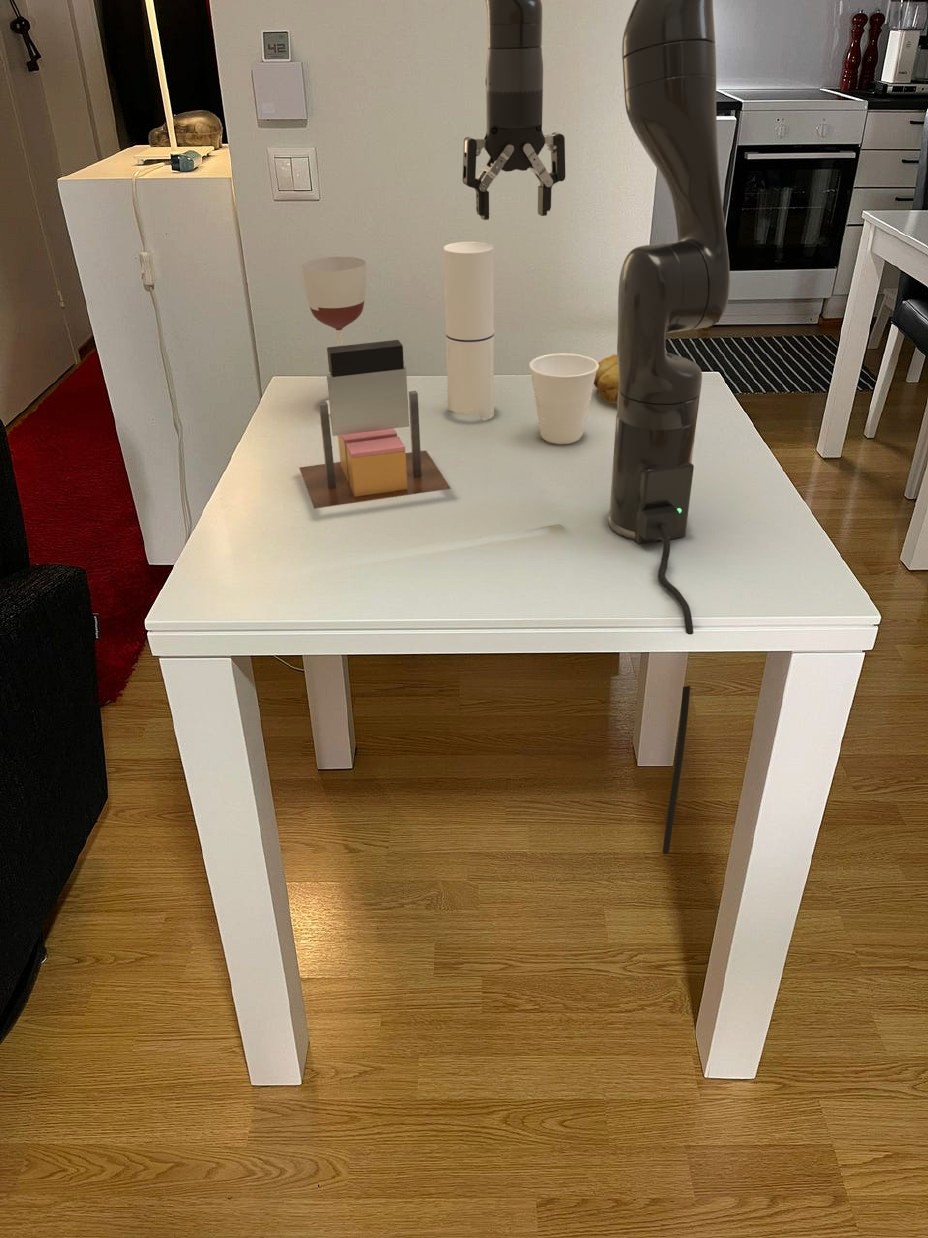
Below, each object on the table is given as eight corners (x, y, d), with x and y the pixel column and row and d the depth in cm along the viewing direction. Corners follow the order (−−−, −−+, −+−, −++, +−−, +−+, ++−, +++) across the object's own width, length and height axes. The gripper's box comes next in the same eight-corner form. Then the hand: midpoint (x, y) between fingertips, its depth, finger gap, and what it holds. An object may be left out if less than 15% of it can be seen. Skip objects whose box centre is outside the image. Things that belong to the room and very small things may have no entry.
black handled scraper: (411, 429, 125) (406, 344, 119) (334, 439, 122) (326, 353, 116) (406, 422, 127) (402, 339, 121) (331, 432, 124) (322, 347, 118)
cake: (407, 489, 126) (405, 446, 123) (354, 497, 124) (350, 453, 121) (390, 459, 134) (387, 418, 131) (340, 466, 132) (336, 424, 129)
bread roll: (660, 413, 150) (665, 363, 146) (597, 414, 150) (601, 364, 146) (647, 384, 161) (651, 336, 156) (588, 385, 161) (591, 338, 157)
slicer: (451, 498, 127) (449, 403, 120) (315, 518, 123) (304, 422, 116) (426, 459, 137) (422, 370, 130) (300, 477, 133) (289, 385, 126)
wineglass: (310, 400, 157) (295, 260, 145) (367, 392, 160) (356, 254, 148) (323, 419, 151) (308, 273, 138) (382, 410, 153) (372, 266, 141)
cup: (597, 450, 139) (602, 375, 133) (528, 450, 139) (530, 376, 133) (591, 423, 147) (595, 352, 141) (526, 424, 148) (527, 353, 142)
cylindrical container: (443, 420, 149) (437, 251, 136) (454, 404, 155) (450, 240, 141) (488, 424, 148) (487, 253, 134) (498, 407, 154) (498, 242, 140)
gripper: (470, 91, 124) (472, 225, 133) (575, 86, 127) (570, 218, 136) (455, 87, 130) (458, 215, 139) (556, 82, 133) (552, 208, 142)
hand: (513, 216), depth 137 cm, fingers open, 8 cm apart
